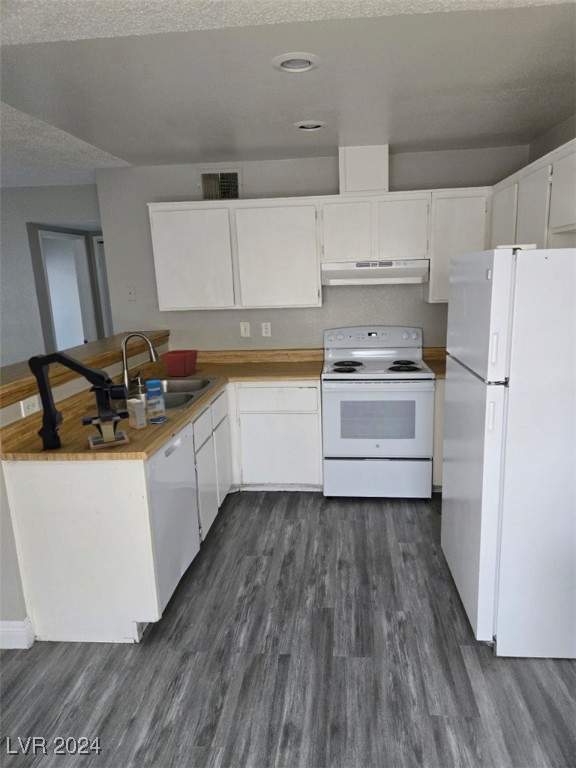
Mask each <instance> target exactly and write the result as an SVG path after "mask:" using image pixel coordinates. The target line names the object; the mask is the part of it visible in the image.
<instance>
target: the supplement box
mask: <svg viewBox="0 0 576 768" xmlns="http://www.w3.org/2000/svg"><path fill="white" fill-rule="evenodd" d="M125 402H126V408H127V409H126V410H128V412H129V417H130V418H128V422H129V423H128V424H129V427H130V428H133V429H135V430H138V431H139V430H144V429H147V418H146V412H145V402H144V400H142V399H138V398H131V399H127V400H126V401H125Z"/></svg>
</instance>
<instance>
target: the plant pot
mask: <svg viewBox="0 0 576 768" xmlns="http://www.w3.org/2000/svg"><path fill="white" fill-rule="evenodd" d="M160 355H161V359H162V362H163V364H164V367H165V369H166V372H167V373H168V375H169V377H170V376H186V377H189V376H191V375H193V374H195V371H196V365H197V362H198V349H181V350H180V349H179V350H177V349H175V350H172V351H168V352H164V353H162V354H160ZM188 375H189V376H188Z"/></svg>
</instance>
